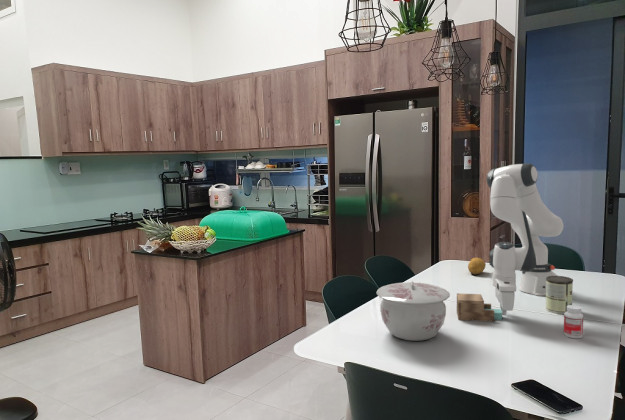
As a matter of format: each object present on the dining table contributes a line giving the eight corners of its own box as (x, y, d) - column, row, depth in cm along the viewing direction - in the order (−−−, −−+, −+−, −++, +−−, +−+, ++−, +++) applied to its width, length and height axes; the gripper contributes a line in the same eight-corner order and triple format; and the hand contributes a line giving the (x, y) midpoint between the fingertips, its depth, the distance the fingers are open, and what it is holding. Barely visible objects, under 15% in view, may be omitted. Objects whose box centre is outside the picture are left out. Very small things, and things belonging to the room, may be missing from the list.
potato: (463, 258, 261) (479, 259, 255) (472, 256, 271) (488, 256, 265) (464, 275, 261) (480, 276, 255) (473, 271, 271) (489, 272, 265)
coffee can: (544, 305, 204) (545, 274, 202) (570, 307, 199) (571, 276, 198) (545, 312, 194) (546, 280, 193) (573, 315, 190) (574, 282, 189)
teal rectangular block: (471, 318, 190) (471, 311, 190) (470, 314, 195) (470, 308, 195) (502, 320, 187) (502, 313, 187) (499, 316, 192) (500, 309, 192)
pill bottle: (570, 331, 173) (571, 303, 172) (586, 336, 167) (587, 307, 166) (559, 334, 170) (560, 306, 169) (575, 340, 164) (576, 310, 163)
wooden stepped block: (490, 313, 195) (490, 294, 194) (494, 321, 185) (494, 301, 185) (456, 312, 198) (456, 293, 197) (458, 319, 189) (458, 300, 188)
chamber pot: (407, 355, 156) (407, 296, 154) (363, 330, 180) (362, 279, 178) (467, 338, 169) (467, 284, 167) (417, 317, 193) (417, 269, 191)
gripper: (492, 275, 198) (491, 306, 200) (500, 288, 178) (499, 322, 180) (507, 275, 197) (506, 306, 198) (517, 288, 177) (516, 323, 178)
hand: (503, 314), depth 189 cm, fingers closed
